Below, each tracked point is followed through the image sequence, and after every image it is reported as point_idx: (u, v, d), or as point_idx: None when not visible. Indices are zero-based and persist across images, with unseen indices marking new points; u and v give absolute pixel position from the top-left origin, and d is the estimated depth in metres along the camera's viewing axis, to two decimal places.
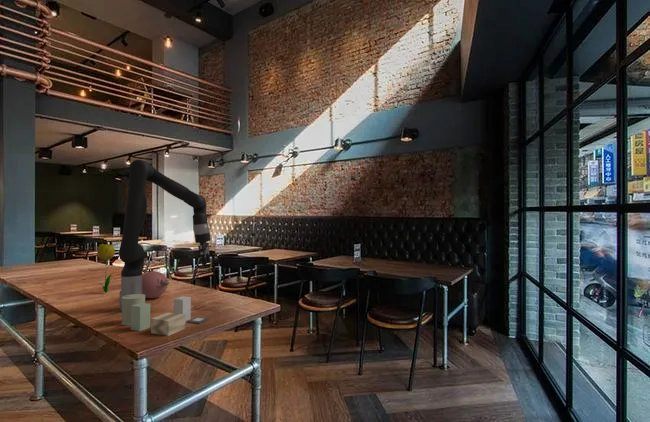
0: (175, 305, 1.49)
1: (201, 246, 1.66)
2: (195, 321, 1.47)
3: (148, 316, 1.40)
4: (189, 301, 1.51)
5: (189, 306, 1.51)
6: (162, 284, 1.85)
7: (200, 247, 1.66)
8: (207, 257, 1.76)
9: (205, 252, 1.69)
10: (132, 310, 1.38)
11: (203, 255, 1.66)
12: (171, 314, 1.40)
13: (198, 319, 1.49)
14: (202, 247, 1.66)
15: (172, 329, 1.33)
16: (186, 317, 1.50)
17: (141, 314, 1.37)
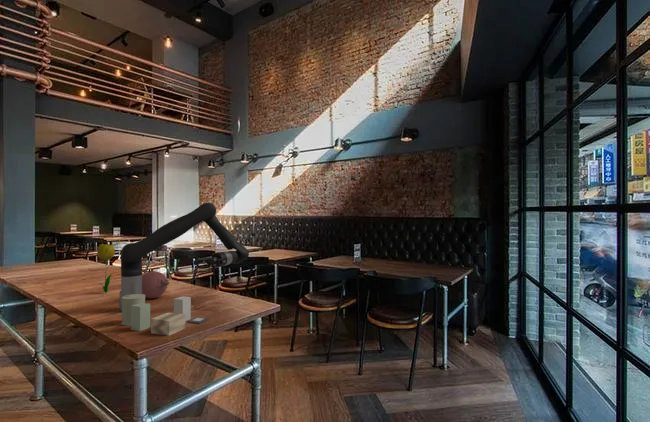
0: (175, 305, 1.49)
1: (225, 261, 1.69)
2: (195, 321, 1.47)
3: (148, 316, 1.40)
4: (189, 301, 1.51)
5: (189, 306, 1.51)
6: (162, 284, 1.85)
7: (224, 261, 1.69)
8: (198, 262, 1.66)
9: None
10: (132, 310, 1.38)
11: (219, 264, 1.65)
12: (171, 314, 1.40)
13: (198, 319, 1.49)
14: (224, 262, 1.69)
15: (173, 329, 1.33)
16: (186, 317, 1.50)
17: (141, 314, 1.37)
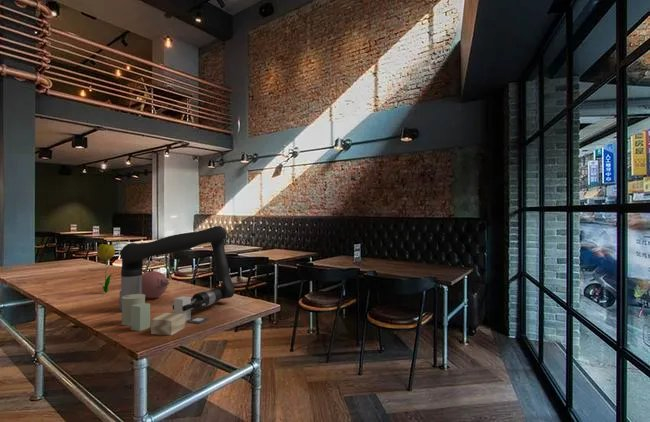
0: (175, 305, 1.49)
1: (204, 304, 1.55)
2: (195, 321, 1.47)
3: (148, 316, 1.40)
4: (189, 301, 1.51)
5: None
6: (162, 284, 1.85)
7: (203, 303, 1.54)
8: None
9: (193, 307, 1.53)
10: (132, 310, 1.38)
11: (196, 307, 1.51)
12: (170, 314, 1.40)
13: (198, 319, 1.49)
14: (203, 306, 1.54)
15: (174, 329, 1.34)
16: (186, 317, 1.50)
17: (141, 314, 1.37)
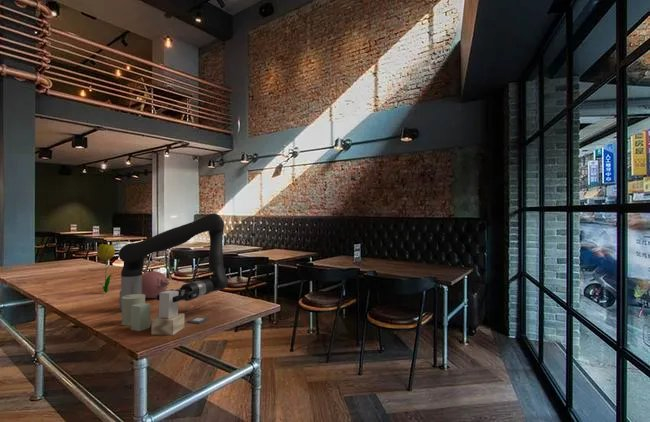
0: (161, 300, 1.35)
1: (195, 295, 1.42)
2: (195, 321, 1.47)
3: (148, 316, 1.40)
4: (176, 295, 1.38)
5: None
6: (162, 284, 1.85)
7: (194, 294, 1.41)
8: None
9: (184, 299, 1.40)
10: (132, 310, 1.38)
11: (187, 299, 1.37)
12: None
13: (198, 319, 1.49)
14: (194, 296, 1.41)
15: (176, 328, 1.34)
16: (173, 313, 1.36)
17: (141, 314, 1.37)
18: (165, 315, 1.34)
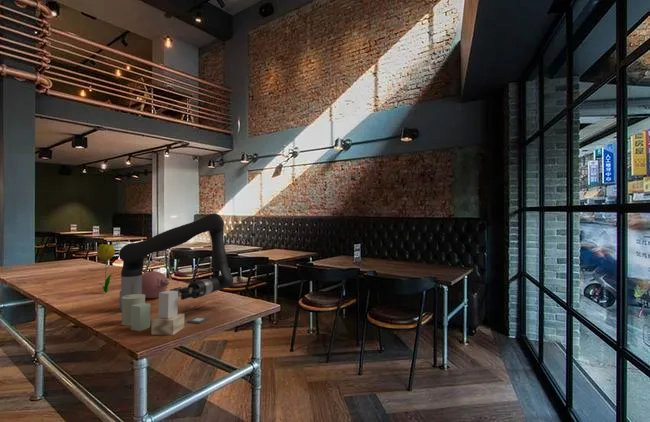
0: (160, 300, 1.35)
1: (202, 293, 1.46)
2: (195, 321, 1.47)
3: (148, 316, 1.40)
4: (176, 295, 1.38)
5: (176, 301, 1.38)
6: (162, 284, 1.85)
7: (202, 292, 1.46)
8: None
9: None
10: (132, 310, 1.38)
11: (195, 296, 1.42)
12: None
13: (198, 319, 1.49)
14: (201, 294, 1.46)
15: (176, 328, 1.34)
16: (172, 313, 1.36)
17: (141, 314, 1.37)
18: (164, 315, 1.34)
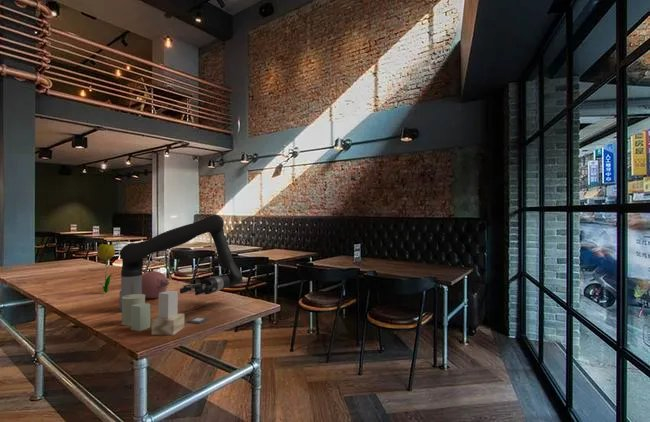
0: (160, 300, 1.35)
1: (214, 289, 1.54)
2: (195, 321, 1.47)
3: (148, 316, 1.40)
4: (176, 296, 1.38)
5: (176, 301, 1.38)
6: (162, 284, 1.85)
7: (214, 288, 1.54)
8: (185, 290, 1.51)
9: None
10: (132, 310, 1.38)
11: (208, 292, 1.50)
12: None
13: (198, 319, 1.49)
14: (214, 290, 1.53)
15: (176, 328, 1.34)
16: (172, 313, 1.36)
17: (141, 314, 1.37)
18: (164, 316, 1.34)
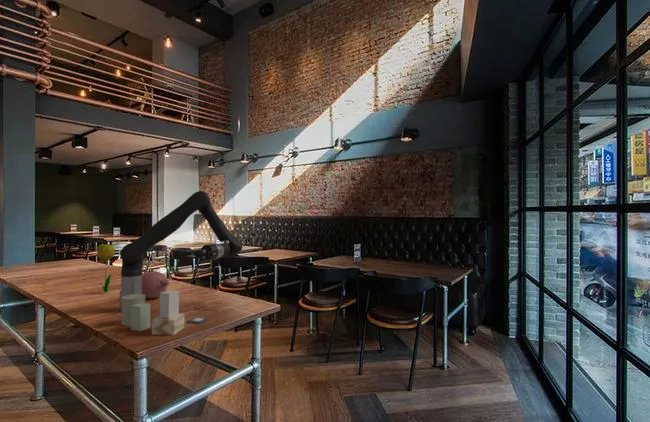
0: (161, 300, 1.35)
1: (215, 254, 1.54)
2: (195, 321, 1.47)
3: (148, 316, 1.40)
4: (177, 296, 1.38)
5: (177, 301, 1.38)
6: (162, 284, 1.85)
7: (214, 253, 1.54)
8: (186, 254, 1.51)
9: (205, 256, 1.52)
10: (132, 310, 1.38)
11: (209, 256, 1.50)
12: None
13: (198, 319, 1.49)
14: (214, 255, 1.54)
15: (176, 328, 1.34)
16: (173, 313, 1.36)
17: (141, 314, 1.37)
18: (165, 315, 1.34)
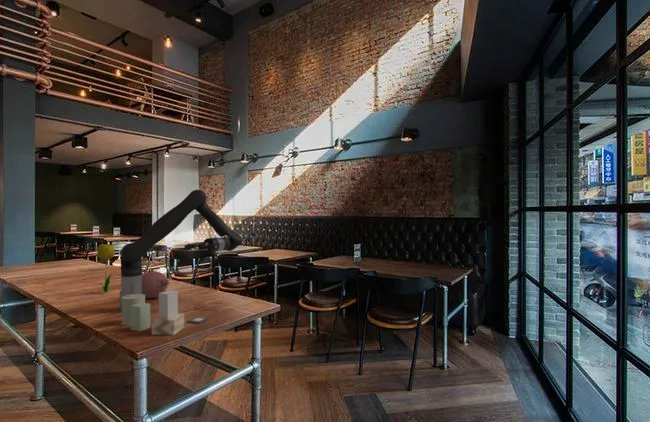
0: (160, 300, 1.35)
1: (216, 246, 1.66)
2: (195, 321, 1.47)
3: (148, 316, 1.40)
4: (176, 296, 1.37)
5: (176, 301, 1.37)
6: (162, 284, 1.85)
7: (216, 246, 1.66)
8: (189, 247, 1.63)
9: None
10: (132, 310, 1.38)
11: (211, 248, 1.62)
12: None
13: (198, 319, 1.49)
14: (216, 247, 1.66)
15: (176, 328, 1.34)
16: (172, 313, 1.36)
17: (141, 314, 1.37)
18: (164, 316, 1.34)
